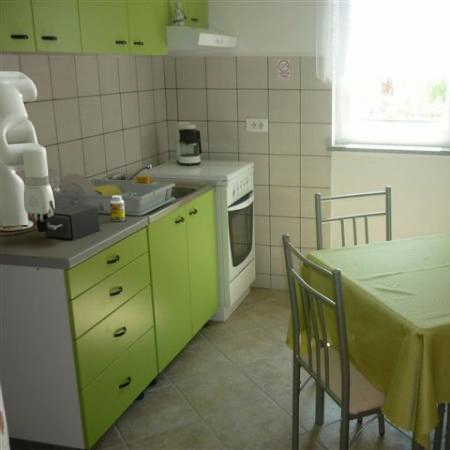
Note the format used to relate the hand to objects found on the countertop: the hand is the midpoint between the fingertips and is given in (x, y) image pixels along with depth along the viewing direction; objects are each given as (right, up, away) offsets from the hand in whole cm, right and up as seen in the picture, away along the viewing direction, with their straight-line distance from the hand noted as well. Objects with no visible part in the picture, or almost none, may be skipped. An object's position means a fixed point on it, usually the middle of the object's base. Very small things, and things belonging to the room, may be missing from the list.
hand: (43, 231), depth 210 cm
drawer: (+4, -1, +11) cm, 11 cm away
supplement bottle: (+16, +4, +34) cm, 38 cm away
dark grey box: (+5, -1, +15) cm, 16 cm away
